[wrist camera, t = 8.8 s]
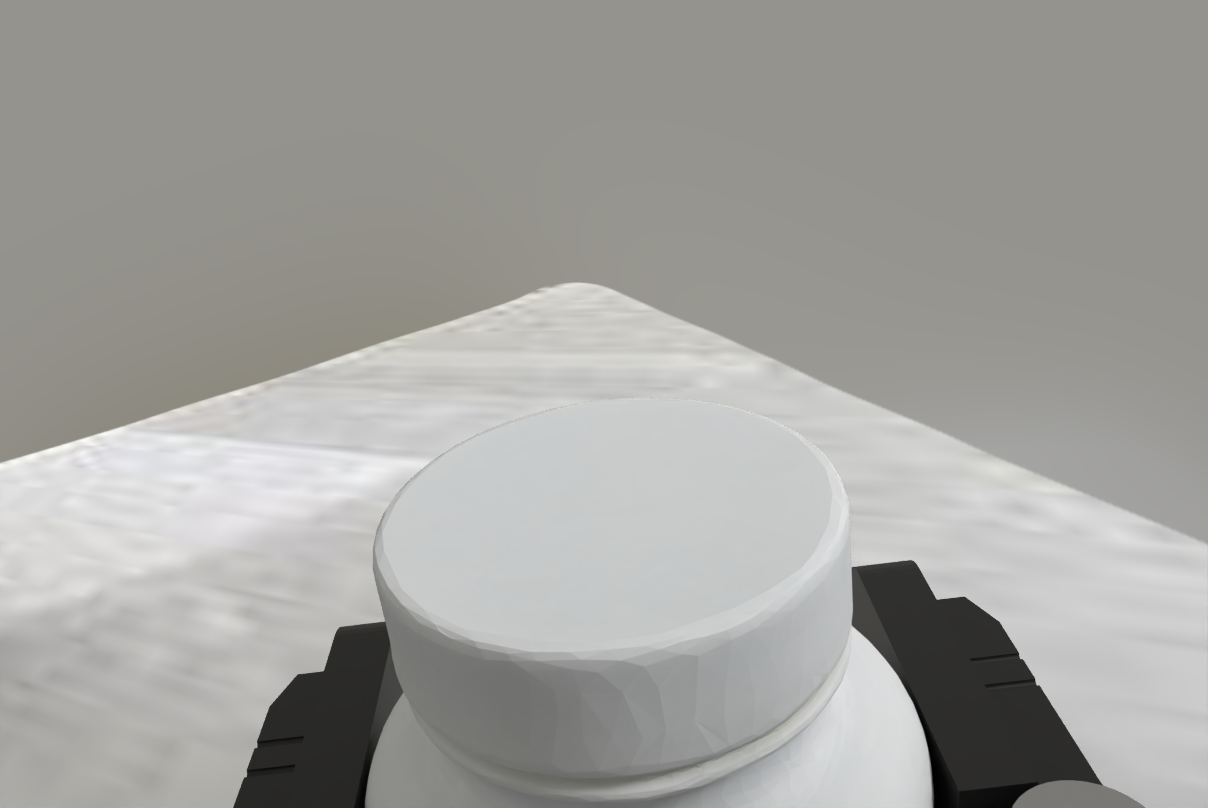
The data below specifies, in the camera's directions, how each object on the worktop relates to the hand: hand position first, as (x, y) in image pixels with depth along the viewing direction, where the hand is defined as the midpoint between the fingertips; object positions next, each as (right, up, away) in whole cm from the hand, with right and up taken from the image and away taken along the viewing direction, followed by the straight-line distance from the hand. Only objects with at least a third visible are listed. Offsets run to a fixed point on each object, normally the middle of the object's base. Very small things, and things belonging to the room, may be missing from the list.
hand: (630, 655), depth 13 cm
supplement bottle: (+1, -7, 0) cm, 7 cm away
